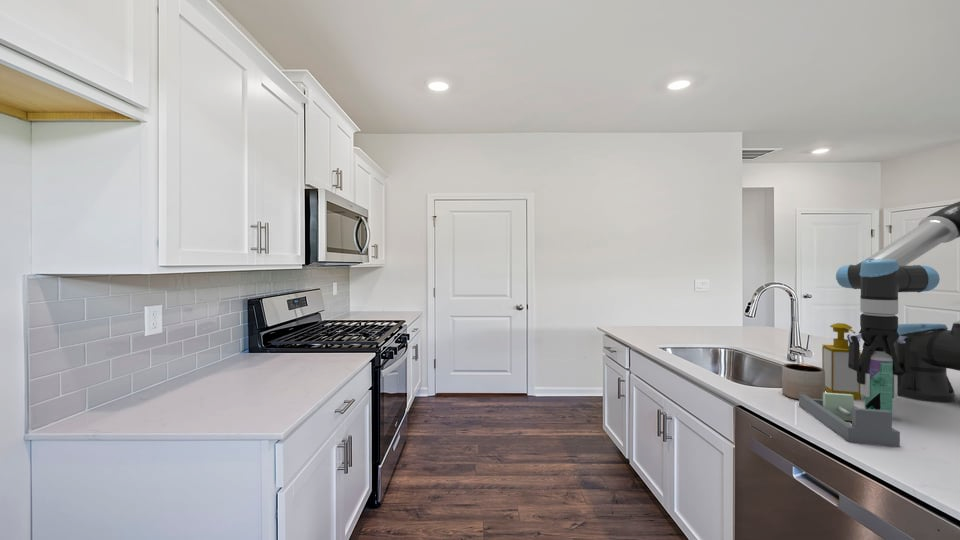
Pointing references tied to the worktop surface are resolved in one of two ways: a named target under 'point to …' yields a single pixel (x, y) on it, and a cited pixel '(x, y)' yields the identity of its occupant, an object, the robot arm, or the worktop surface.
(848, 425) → the lane
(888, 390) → the spray can
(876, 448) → the worktop surface
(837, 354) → the soap bottle
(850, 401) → the pusher
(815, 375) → the planter
